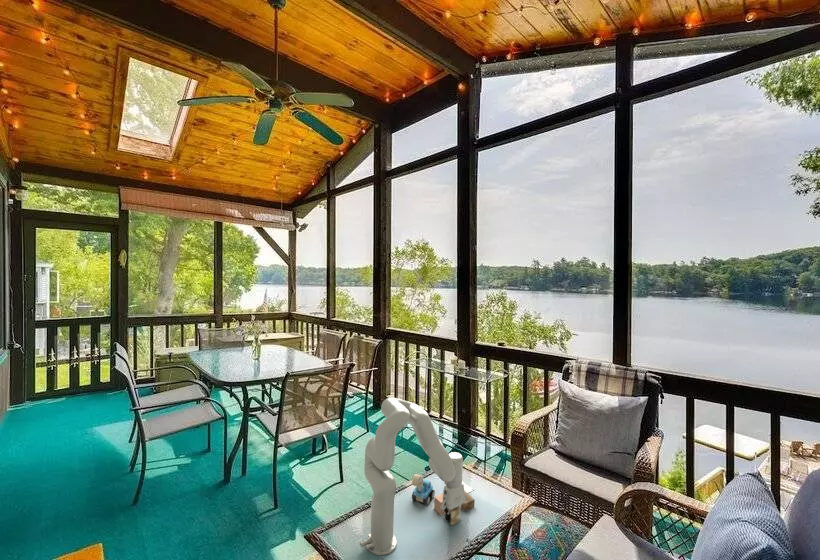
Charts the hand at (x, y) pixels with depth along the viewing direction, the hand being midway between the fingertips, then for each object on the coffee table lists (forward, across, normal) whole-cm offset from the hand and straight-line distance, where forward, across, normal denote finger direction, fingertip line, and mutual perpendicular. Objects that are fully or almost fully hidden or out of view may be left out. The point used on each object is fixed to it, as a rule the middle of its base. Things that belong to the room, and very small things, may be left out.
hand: (452, 518), depth 175 cm
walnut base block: (+1, +12, +4) cm, 13 cm away
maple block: (+1, 0, 0) cm, 1 cm away
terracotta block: (+1, 0, +8) cm, 8 cm away
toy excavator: (+1, -5, +18) cm, 19 cm away
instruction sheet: (+1, +18, +15) cm, 23 cm away
